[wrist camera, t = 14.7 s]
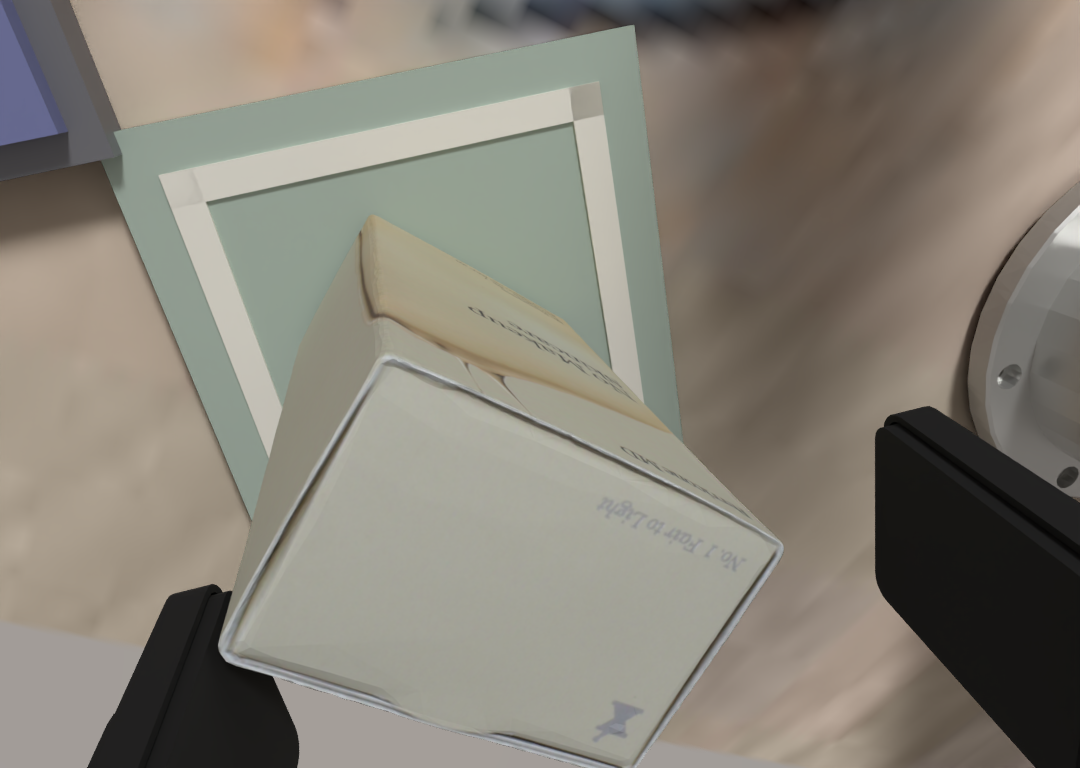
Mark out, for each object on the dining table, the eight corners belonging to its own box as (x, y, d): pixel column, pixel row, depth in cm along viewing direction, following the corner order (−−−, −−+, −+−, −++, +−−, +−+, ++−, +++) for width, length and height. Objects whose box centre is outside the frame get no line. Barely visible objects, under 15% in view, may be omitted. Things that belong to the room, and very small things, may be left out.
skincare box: (566, 318, 21) (814, 541, 10) (488, 450, 22) (640, 793, 11) (361, 205, 19) (388, 333, 8) (281, 356, 20) (204, 671, 9)
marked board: (626, 25, 19) (635, 24, 18) (679, 460, 25) (687, 470, 24) (99, 134, 18) (89, 137, 17) (280, 570, 23) (277, 585, 22)
